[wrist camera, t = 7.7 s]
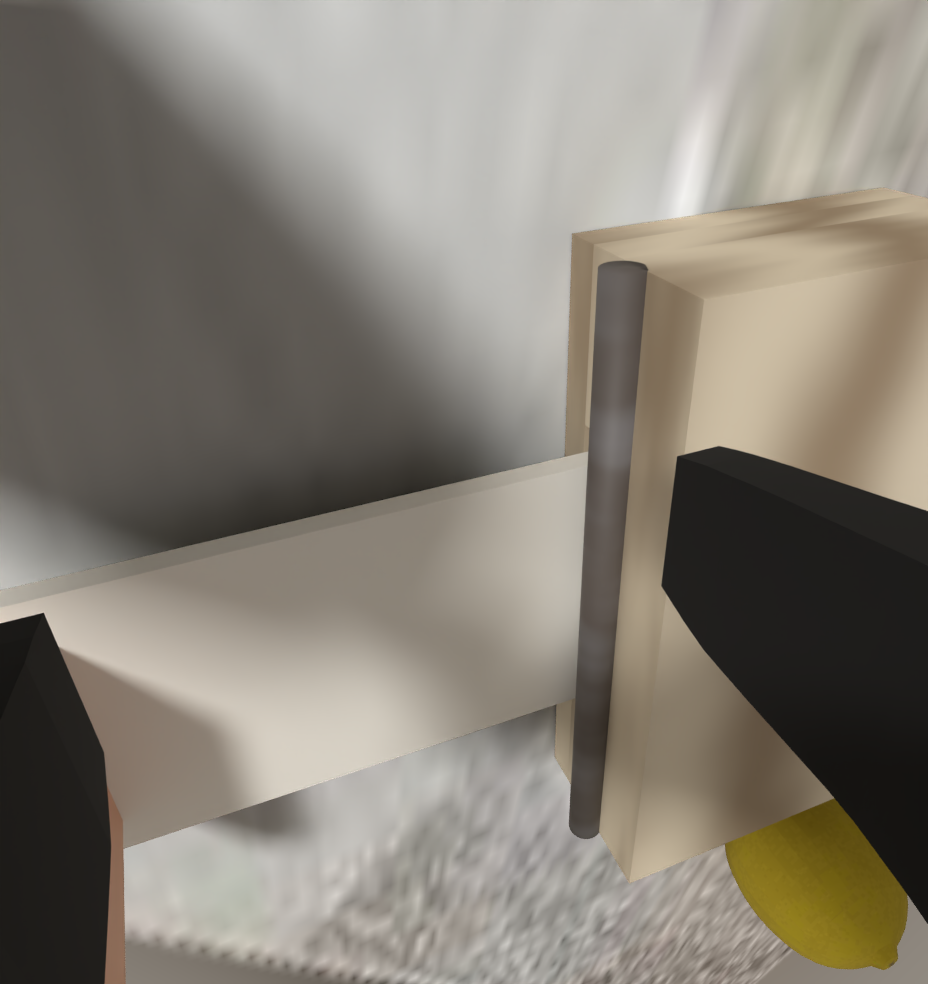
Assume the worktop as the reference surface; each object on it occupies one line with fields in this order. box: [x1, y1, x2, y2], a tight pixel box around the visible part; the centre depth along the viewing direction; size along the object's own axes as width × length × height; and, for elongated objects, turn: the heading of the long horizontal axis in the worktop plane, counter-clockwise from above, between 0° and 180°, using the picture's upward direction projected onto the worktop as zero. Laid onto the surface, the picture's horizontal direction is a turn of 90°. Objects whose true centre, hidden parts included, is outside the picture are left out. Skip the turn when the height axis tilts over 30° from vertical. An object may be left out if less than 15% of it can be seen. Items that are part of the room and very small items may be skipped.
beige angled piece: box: [0, 452, 588, 984], centre depth 18 cm, size 15×8×6 cm, turn 92°
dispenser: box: [555, 188, 928, 883], centre depth 22 cm, size 10×18×5 cm, turn 2°
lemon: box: [725, 798, 908, 970], centre depth 30 cm, size 6×6×8 cm
